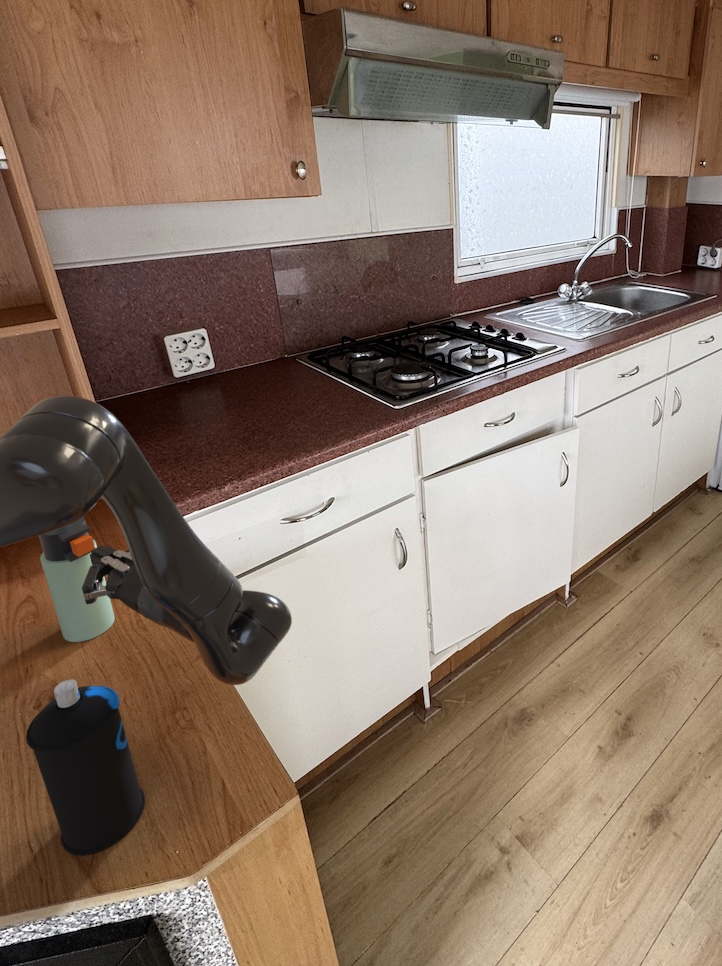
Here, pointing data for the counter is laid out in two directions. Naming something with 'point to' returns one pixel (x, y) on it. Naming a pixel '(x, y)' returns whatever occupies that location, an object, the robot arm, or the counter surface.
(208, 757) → the counter surface
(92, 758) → the black bottle
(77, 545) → the nozzle button
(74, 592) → the sports bottle
